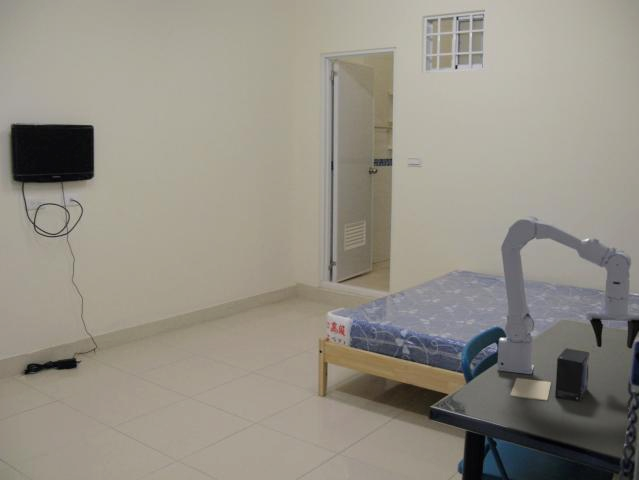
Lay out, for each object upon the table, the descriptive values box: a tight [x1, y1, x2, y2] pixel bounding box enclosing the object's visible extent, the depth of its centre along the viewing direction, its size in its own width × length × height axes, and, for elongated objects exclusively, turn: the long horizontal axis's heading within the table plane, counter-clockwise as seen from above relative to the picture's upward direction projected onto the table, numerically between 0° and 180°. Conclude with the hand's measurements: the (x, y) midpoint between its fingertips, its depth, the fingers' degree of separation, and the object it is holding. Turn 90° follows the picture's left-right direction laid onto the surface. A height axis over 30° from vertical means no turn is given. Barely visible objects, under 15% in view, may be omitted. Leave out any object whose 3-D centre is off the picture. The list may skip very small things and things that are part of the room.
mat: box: [509, 377, 552, 402], centre depth 170 cm, size 9×14×1 cm, turn 157°
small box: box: [554, 347, 590, 402], centre depth 166 cm, size 11×6×10 cm, turn 148°
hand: (614, 346), depth 172 cm, fingers open, 7 cm apart
